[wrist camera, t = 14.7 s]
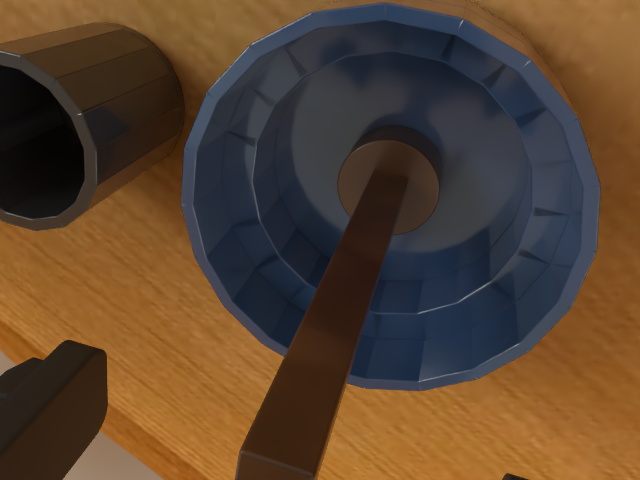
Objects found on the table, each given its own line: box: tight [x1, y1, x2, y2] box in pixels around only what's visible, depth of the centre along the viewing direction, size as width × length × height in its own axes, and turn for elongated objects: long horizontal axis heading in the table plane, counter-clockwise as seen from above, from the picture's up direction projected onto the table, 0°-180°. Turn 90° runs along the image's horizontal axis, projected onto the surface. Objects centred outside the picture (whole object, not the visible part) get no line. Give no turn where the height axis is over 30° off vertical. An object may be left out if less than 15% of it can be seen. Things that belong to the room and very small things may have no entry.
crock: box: [0, 22, 184, 231], centre depth 24 cm, size 7×7×7 cm
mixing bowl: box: [181, 0, 601, 391], centre depth 23 cm, size 14×14×6 cm
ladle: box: [235, 125, 443, 480], centre depth 18 cm, size 4×4×16 cm
